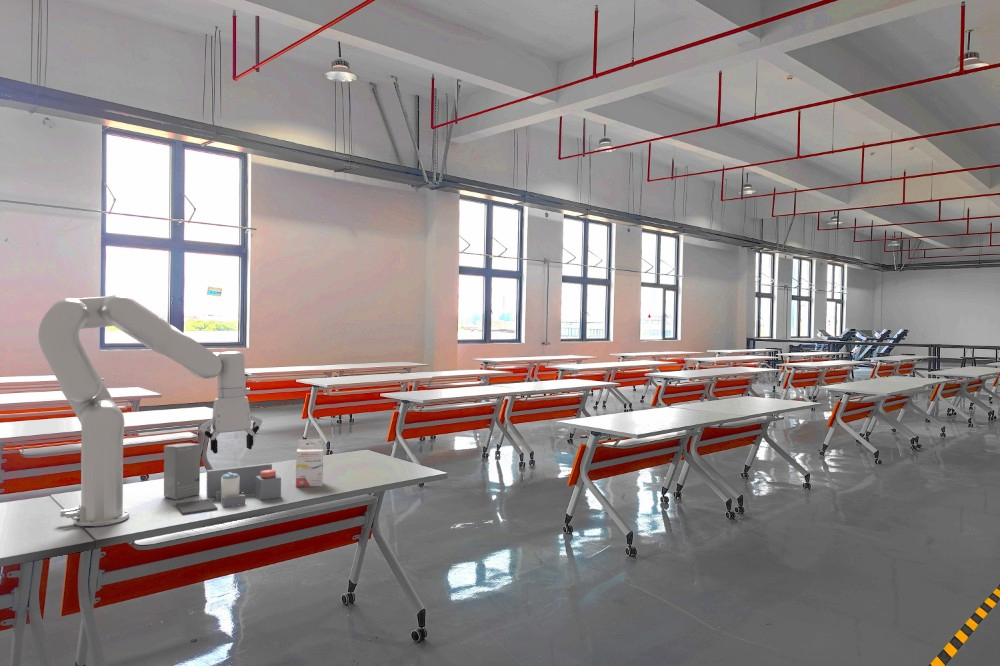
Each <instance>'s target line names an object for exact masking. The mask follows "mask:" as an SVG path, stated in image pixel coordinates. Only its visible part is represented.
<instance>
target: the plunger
mask: <svg viewBox="0 0 1000 666" xmlns="http://www.w3.org/2000/svg"><path fill="white" fill-rule="evenodd" d="M276 472H277V471H276V470H274V469H272V470H264V471H261V478H263V479H267V478H273V477H275V476H276V475H277V473H276Z"/></svg>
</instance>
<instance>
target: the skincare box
mask: <svg viewBox="0 0 1000 666" xmlns="http://www.w3.org/2000/svg"><path fill="white" fill-rule="evenodd" d="M163 451H164V453H163V497H165V498H169V499H172V500H175V501H177V500H181V499H182V500H183V499H186V498H190V497H193V496H197V495H198V496H199V495H200V494H201V492H200V487H201V486H200V483H201V482H200V481H201V480H200V479H201V478H200V476H201V475H200V473H201V472H200V471H201V468H200V467H201V462H200V461H201V444H200V443H192V442H185V443H183V442H182V443H176V444H175V443H173V444H166V445H164V446H163Z"/></svg>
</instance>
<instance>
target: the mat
mask: <svg viewBox="0 0 1000 666" xmlns="http://www.w3.org/2000/svg"><path fill="white" fill-rule="evenodd" d="M175 507H176V508H177V510H178V511H179V512H180V513H181V514H182V515H183V516H184V515H190V514H191V513H192V514H198V512H199V513H204V512H210V511H218V506H217V505H215V504H214V502H213V501H211V500H210V498H207V499H206V498H205V499H197V500H191V501H184V502H176V503H175Z"/></svg>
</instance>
